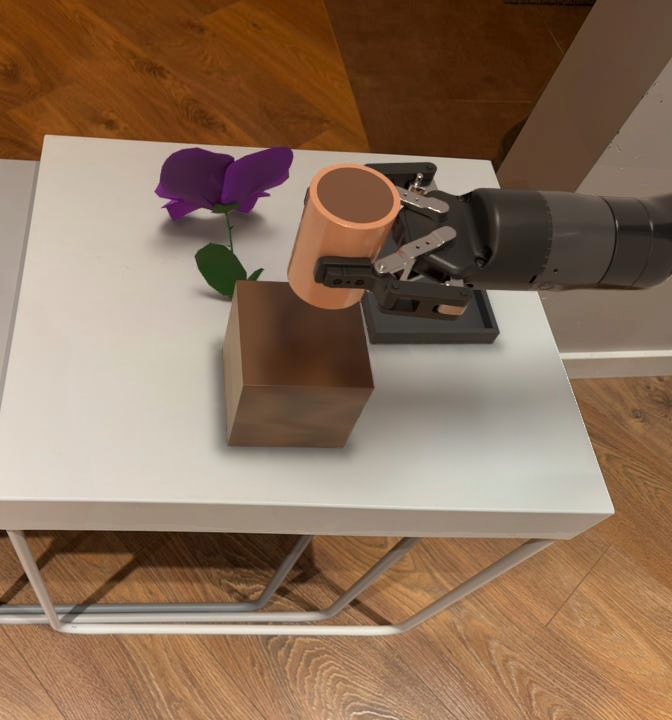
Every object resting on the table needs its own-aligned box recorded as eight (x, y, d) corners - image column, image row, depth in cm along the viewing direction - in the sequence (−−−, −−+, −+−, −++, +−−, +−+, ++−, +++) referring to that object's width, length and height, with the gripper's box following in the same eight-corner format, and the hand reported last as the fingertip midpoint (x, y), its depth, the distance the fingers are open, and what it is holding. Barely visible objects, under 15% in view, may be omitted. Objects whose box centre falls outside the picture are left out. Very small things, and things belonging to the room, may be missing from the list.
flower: (286, 299, 89) (266, 185, 89) (332, 272, 74) (308, 136, 75) (161, 316, 86) (143, 198, 87) (183, 292, 71) (160, 150, 72)
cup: (382, 279, 61) (419, 197, 54) (333, 323, 58) (364, 243, 51) (320, 235, 63) (346, 149, 56) (270, 275, 61) (290, 191, 53)
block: (329, 351, 79) (356, 283, 70) (342, 447, 73) (375, 388, 64) (222, 348, 78) (236, 279, 69) (227, 445, 72) (243, 385, 63)
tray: (492, 343, 81) (500, 332, 79) (370, 343, 80) (375, 332, 78) (455, 228, 90) (462, 216, 88) (345, 227, 89) (349, 214, 87)
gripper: (526, 136, 59) (310, 126, 57) (583, 284, 51) (334, 276, 50) (487, 207, 65) (291, 199, 64) (532, 348, 57) (310, 342, 56)
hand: (311, 233), depth 57 cm, fingers closed on cup, 6 cm apart
